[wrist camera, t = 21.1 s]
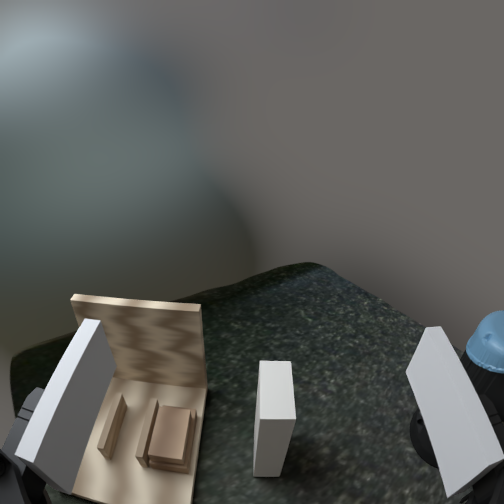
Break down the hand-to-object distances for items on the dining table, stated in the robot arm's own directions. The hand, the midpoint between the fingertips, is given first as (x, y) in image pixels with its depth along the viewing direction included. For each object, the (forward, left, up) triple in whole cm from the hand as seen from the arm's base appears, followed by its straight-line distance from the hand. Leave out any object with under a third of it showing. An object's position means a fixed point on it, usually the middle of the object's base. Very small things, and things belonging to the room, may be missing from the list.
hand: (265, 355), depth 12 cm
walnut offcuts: (+3, -16, -33) cm, 37 cm away
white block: (-8, -10, -34) cm, 37 cm away
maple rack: (+8, -19, -34) cm, 40 cm away
